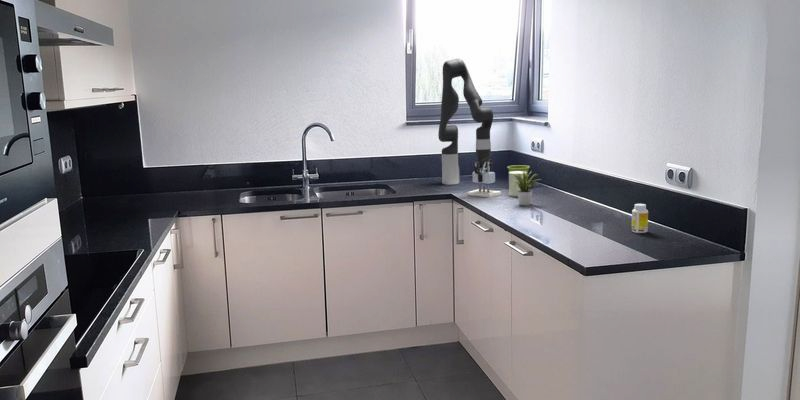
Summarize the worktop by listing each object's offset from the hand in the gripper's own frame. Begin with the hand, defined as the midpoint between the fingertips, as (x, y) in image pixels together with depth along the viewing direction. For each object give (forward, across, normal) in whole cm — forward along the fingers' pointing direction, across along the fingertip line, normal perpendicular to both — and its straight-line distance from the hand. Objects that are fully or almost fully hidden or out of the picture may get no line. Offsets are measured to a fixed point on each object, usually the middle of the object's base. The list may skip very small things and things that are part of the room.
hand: (483, 181), depth 320 cm
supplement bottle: (+8, +35, +94) cm, 101 cm away
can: (+7, -8, +15) cm, 19 cm away
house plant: (+7, +13, +31) cm, 34 cm away
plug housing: (0, 0, 0) cm, 0 cm away
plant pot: (+7, -28, +3) cm, 29 cm away
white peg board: (+7, 0, 0) cm, 7 cm away
